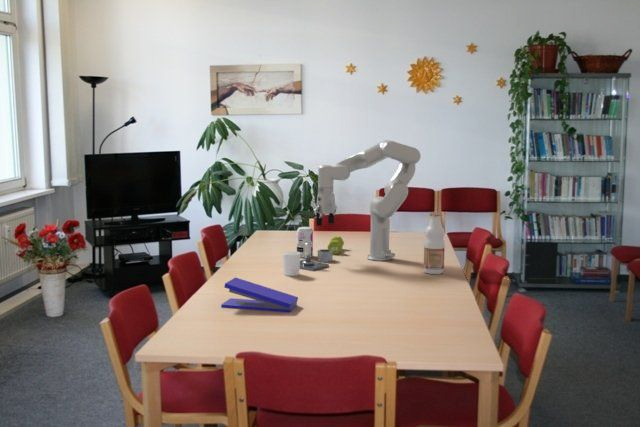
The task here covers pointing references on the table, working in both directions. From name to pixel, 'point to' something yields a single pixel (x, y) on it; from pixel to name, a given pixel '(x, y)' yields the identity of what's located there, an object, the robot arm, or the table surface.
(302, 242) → the supplement can
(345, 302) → the table surface
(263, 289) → the stapler
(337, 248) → the dumbbell
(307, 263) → the shaft stand
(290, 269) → the white cup
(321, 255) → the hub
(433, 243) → the fruit juice
